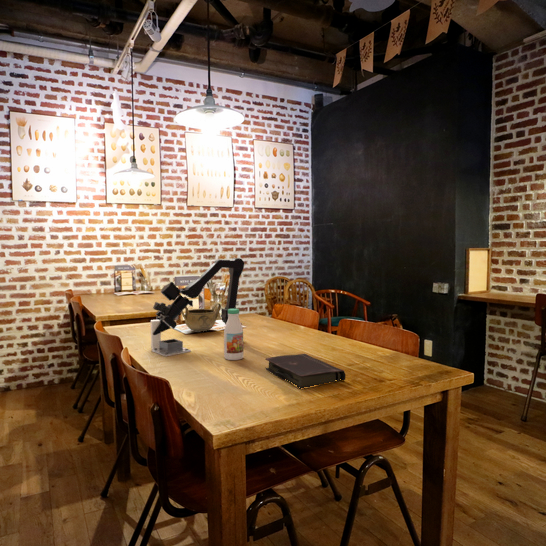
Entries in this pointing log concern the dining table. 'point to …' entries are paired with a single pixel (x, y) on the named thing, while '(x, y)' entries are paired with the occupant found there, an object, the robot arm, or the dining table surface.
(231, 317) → the milk bottle
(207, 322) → the ceramic bowl
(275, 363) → the diary
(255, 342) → the dining table surface
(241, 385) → the dining table surface
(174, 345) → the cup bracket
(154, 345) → the rail post
